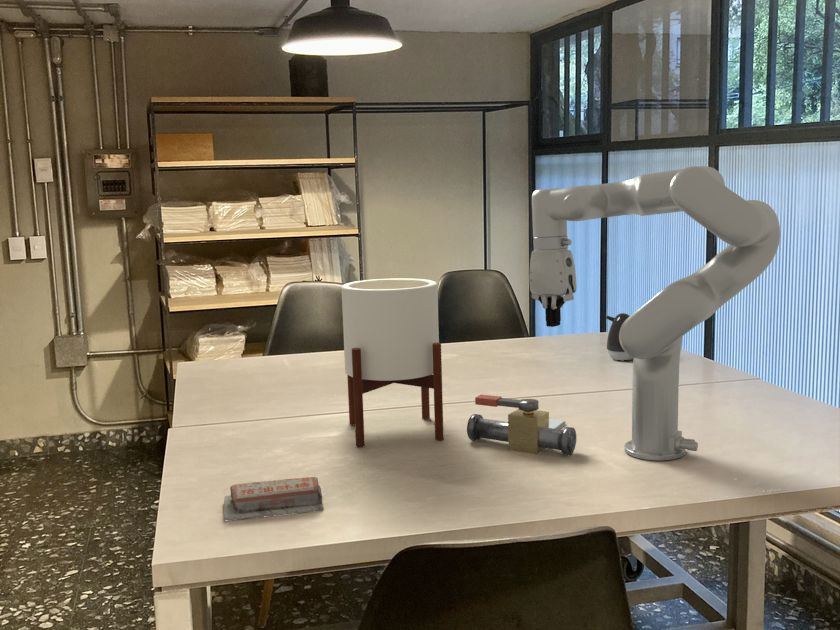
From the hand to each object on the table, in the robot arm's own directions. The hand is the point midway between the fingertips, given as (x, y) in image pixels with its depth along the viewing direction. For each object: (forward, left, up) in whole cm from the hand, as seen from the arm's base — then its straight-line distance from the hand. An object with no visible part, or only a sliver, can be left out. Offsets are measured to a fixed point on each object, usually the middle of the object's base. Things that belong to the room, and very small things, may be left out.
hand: (553, 325), depth 192 cm
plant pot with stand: (+36, +13, -26) cm, 46 cm away
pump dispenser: (+15, -87, -26) cm, 92 cm away
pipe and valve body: (+4, +10, -26) cm, 28 cm away
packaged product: (+29, +63, -27) cm, 74 cm away
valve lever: (+7, +10, -17) cm, 21 cm away
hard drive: (+6, -4, -27) cm, 28 cm away
